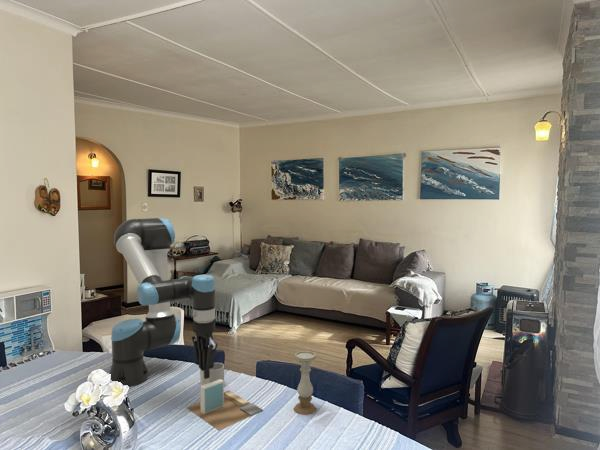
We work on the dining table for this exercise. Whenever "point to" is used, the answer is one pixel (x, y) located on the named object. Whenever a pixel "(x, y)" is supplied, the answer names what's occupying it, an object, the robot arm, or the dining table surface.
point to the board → (221, 414)
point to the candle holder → (305, 384)
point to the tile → (212, 396)
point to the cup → (216, 372)
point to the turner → (242, 403)
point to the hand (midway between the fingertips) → (204, 386)
